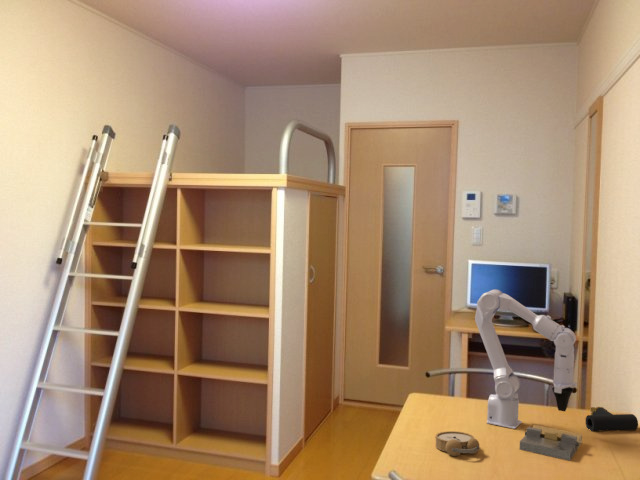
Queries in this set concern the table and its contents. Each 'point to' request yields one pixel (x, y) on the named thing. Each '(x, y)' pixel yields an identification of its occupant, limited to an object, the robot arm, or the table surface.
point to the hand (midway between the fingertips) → (561, 410)
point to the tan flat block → (557, 434)
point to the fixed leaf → (549, 444)
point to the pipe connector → (610, 421)
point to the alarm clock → (456, 443)
